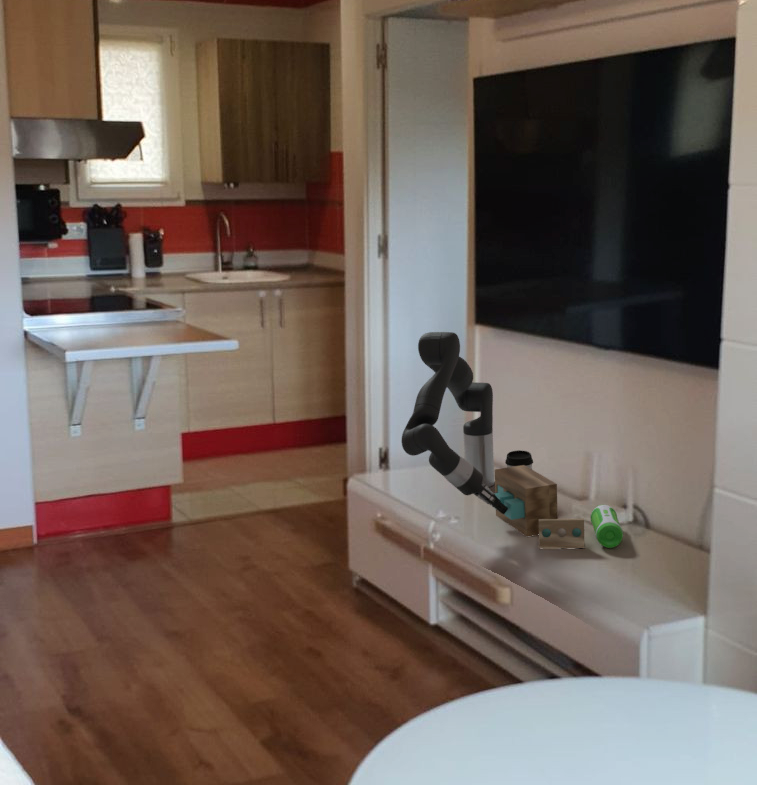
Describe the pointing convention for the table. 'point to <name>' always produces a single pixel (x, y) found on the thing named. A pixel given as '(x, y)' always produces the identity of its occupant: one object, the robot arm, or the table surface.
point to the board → (561, 533)
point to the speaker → (606, 526)
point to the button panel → (528, 497)
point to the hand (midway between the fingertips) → (504, 510)
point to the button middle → (504, 496)
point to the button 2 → (515, 508)
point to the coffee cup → (519, 459)
